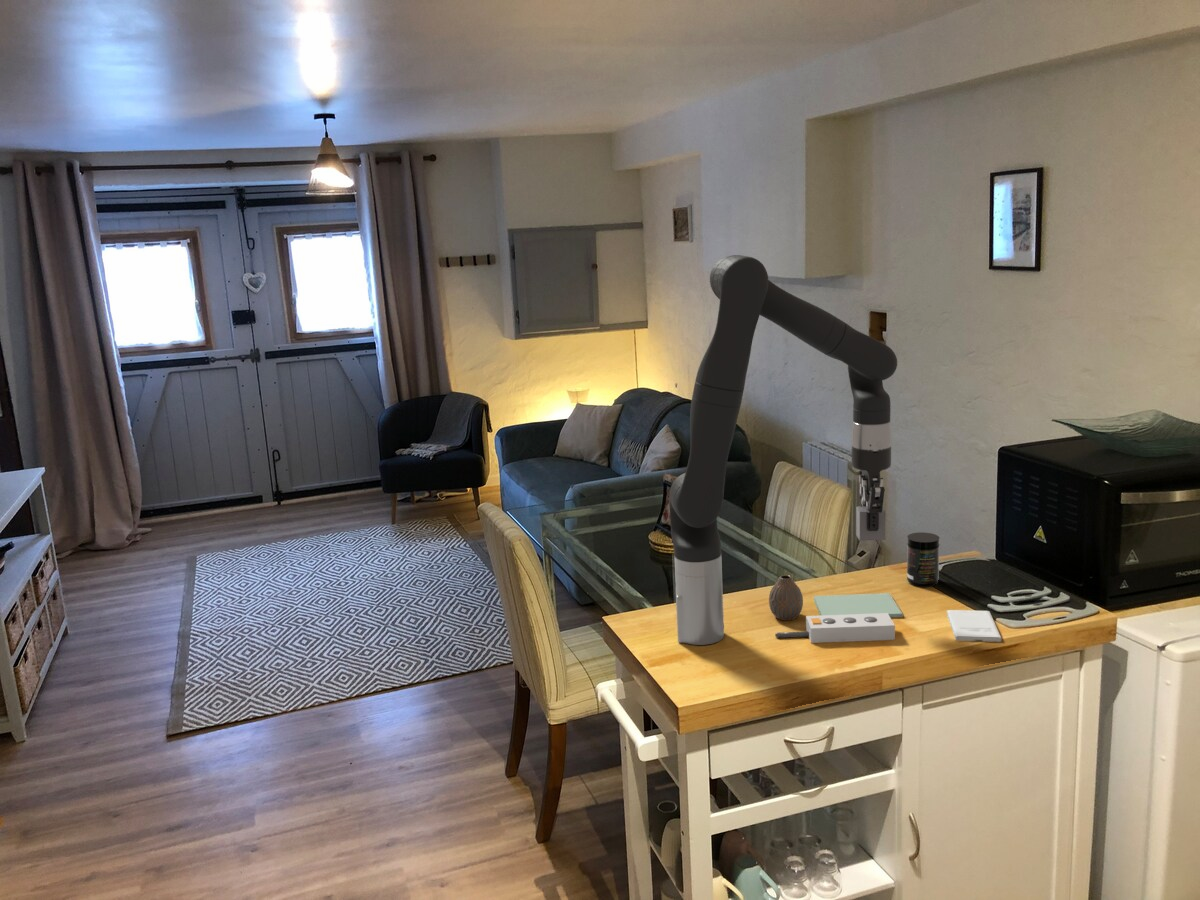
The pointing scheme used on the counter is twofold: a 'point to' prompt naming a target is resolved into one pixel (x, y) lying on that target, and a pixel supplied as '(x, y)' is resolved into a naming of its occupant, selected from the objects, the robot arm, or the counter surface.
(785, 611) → the vase
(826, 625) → the power strip
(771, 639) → the counter surface
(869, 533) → the plug
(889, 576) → the counter surface
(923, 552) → the supplement container
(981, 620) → the external hard drive
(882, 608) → the mat
